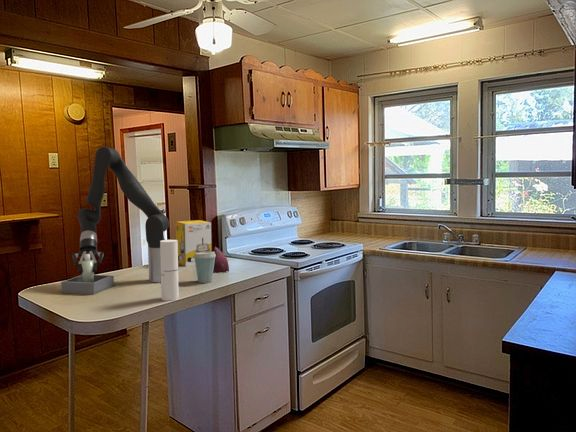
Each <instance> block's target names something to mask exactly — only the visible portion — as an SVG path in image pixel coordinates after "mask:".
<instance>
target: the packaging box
mask: <svg viewBox="0 0 576 432" xmlns="http://www.w3.org/2000/svg"><path fill="white" fill-rule="evenodd" d="M174 223H175V240H177V242H178V265H181V266H184V267H186V268H187V267H194V266H195V267H196V264H195V257H194V255H195V254H196V253H200V252H213V251H212V221H205V220H199V219H198V220H197V219H195V220H182V221H181V220H179V221H175V222H174Z"/></svg>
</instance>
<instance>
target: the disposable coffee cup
mask: <svg viewBox="0 0 576 432" xmlns="http://www.w3.org/2000/svg"><path fill="white" fill-rule="evenodd" d="M194 257H195V264H196V266H195V269H196V277H197V281H198V283H200V284H208V283H211V282H212V280H213V275H214V272H213V269H214V262H215V257H216V254H215V252H214V251H212V252H200V253H196V254H195V255H194Z"/></svg>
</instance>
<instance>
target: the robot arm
mask: <svg viewBox="0 0 576 432" xmlns="http://www.w3.org/2000/svg"><path fill="white" fill-rule="evenodd" d="M108 169H110V170H111V171H112V173H113V174H114V175H115V177H116V179H117V181H118V186H119V187H120V190H121V191H122V193H123V194H124V195H125V197H126V198H127V200H128V201H129V202H130V203H131V204H133V205H134V207H136V208H138V209H139V210H140V211H142V213H143V214H144V215H145V216H146V217H147V219H146V220H145V223H144V224H145V228H144V229H145V240H146V243H147V256H148V257H147V259H148V260H147V261H148V263H147V265H148V281H149V282H150V283H161V255H160V241H162V240H166V239H165V235H164V234H165V233H164V232H166V231H167V230H168V229H169V226H170V222H169V218H168V217H167V216H166V215H165V214H164V212H163V211H162V210H161V209H160V208H159V207H158V206H157V205H156V203H155V202H154V201H153V200H152V197H150V196H149V194H148V193H147V191H146V190H145V188H144V187H143V185H142V184H141V183H140V182H139V181H138V179H137V178H136V176H135V175H134V174H133V173H132V171H131V170H130V169H129V168H128V167H127V165H126V163H125V161H124V160H123V157H122V156H121V155H120V153H119V151H118V150H116V149H115V148H113V147H109V146H101V147H99V148H98V149H97V150H96V151H95V156H94V164H93V172H92V178H91V182H90V187H89V190H88V193H87V197H86V200H85V202H86V203H87V204H88V205H90V206H92V207H94V209H91V208H86V207H82V208H79V211H78V212H77V219H78V222H79V226H80V237H79V251H78V253H75V252H72V254H71V255H72V256H71V257H72V261H73V263H74V266H75V267H77V268H78V269H77V270H78V273H80V274H82V262H81V261H83V260H85V259H84V254H90V260H93V273H94V274H95V272H97V271H98V270H97V266H99V265H101V264H102V261H103V259H104V251H98V237H97V236H98V235H97V234H98V233H97V230H98V229H97V228H98V227H97V224H99V223H100V221H101V215H102V214H101V208H102V207H101V206H102V201H103V198H104V195H105V190H106V173H107V171H108ZM97 256H98V260H97V259H96V257H97ZM78 257H79V259H80V260H79V261H78V260H77V259H78Z"/></svg>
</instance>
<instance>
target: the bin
mask: <svg viewBox="0 0 576 432" xmlns="http://www.w3.org/2000/svg"><path fill="white" fill-rule="evenodd" d="M60 283H61V285H60V286H61V294H75V295H76V294H78V295H79V294H80V295H96V294H99V293H101V292H103V291H105V290H108V289H110V288H112V287H114V286H115V278H114V275H109V274H107V275H106V274H94V282H93V283H88V282H82V274H80V275H77V276H75V277H72V278H69V279H66V280H64V281H61V282H60Z"/></svg>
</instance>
